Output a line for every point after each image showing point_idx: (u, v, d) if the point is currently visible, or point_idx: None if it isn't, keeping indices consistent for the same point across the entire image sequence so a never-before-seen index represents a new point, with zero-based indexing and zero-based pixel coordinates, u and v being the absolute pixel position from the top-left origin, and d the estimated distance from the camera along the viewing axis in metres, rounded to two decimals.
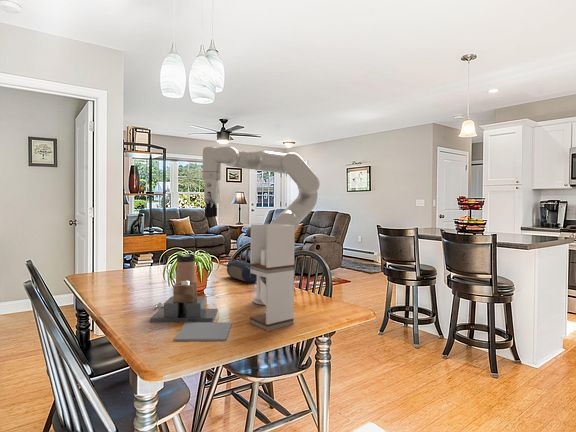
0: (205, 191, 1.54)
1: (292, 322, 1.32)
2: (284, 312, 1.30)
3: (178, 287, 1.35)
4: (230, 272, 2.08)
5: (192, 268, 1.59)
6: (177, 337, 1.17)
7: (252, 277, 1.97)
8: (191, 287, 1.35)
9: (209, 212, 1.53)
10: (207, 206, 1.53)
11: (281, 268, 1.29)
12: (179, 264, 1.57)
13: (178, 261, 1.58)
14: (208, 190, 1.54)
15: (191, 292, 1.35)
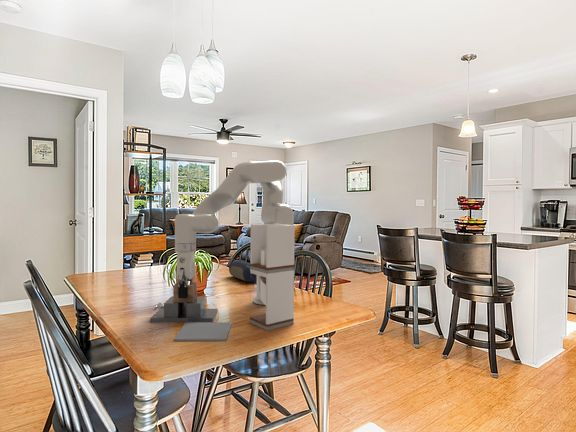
0: (178, 267, 1.34)
1: (292, 322, 1.32)
2: (284, 312, 1.30)
3: None
4: (232, 272, 2.09)
5: None
6: (177, 337, 1.17)
7: (253, 277, 1.97)
8: (191, 287, 1.35)
9: (183, 293, 1.34)
10: (181, 286, 1.33)
11: (281, 268, 1.29)
12: None
13: None
14: (181, 266, 1.34)
15: (191, 292, 1.35)
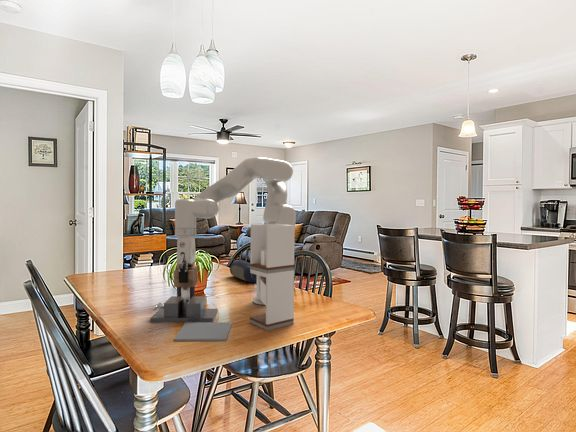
0: (178, 251, 1.34)
1: (292, 322, 1.32)
2: (284, 312, 1.30)
3: (178, 272, 1.35)
4: (233, 272, 2.09)
5: None
6: (177, 337, 1.17)
7: (254, 277, 1.97)
8: (191, 272, 1.35)
9: (183, 277, 1.34)
10: (181, 271, 1.33)
11: (281, 268, 1.29)
12: None
13: None
14: (181, 250, 1.33)
15: (191, 277, 1.35)
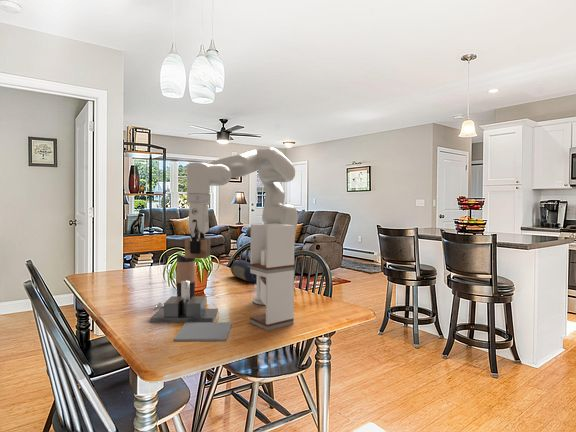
0: (190, 219, 1.22)
1: (292, 322, 1.32)
2: (284, 312, 1.30)
3: None
4: (234, 272, 2.10)
5: (192, 268, 1.59)
6: (177, 337, 1.17)
7: (254, 277, 1.97)
8: (204, 242, 1.24)
9: (195, 247, 1.23)
10: (193, 240, 1.22)
11: (281, 268, 1.29)
12: (179, 264, 1.57)
13: (178, 261, 1.58)
14: (193, 217, 1.22)
15: (204, 247, 1.24)
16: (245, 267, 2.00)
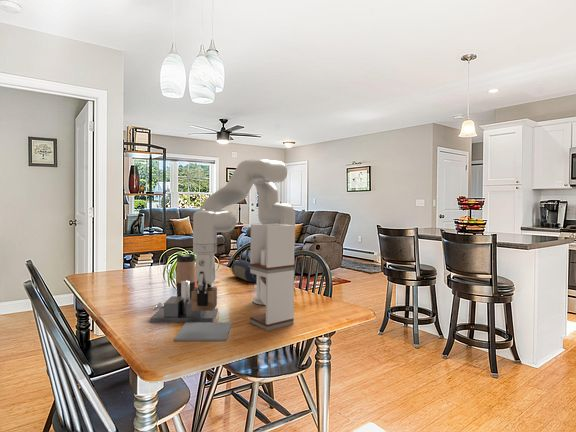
0: (197, 271, 1.18)
1: (292, 322, 1.32)
2: (284, 312, 1.30)
3: None
4: (235, 272, 2.10)
5: (192, 268, 1.59)
6: (177, 337, 1.17)
7: (255, 277, 1.97)
8: (211, 293, 1.20)
9: (203, 300, 1.18)
10: (200, 292, 1.18)
11: (281, 268, 1.29)
12: (179, 264, 1.57)
13: (178, 261, 1.58)
14: (201, 269, 1.18)
15: (211, 299, 1.20)
16: (246, 267, 2.00)
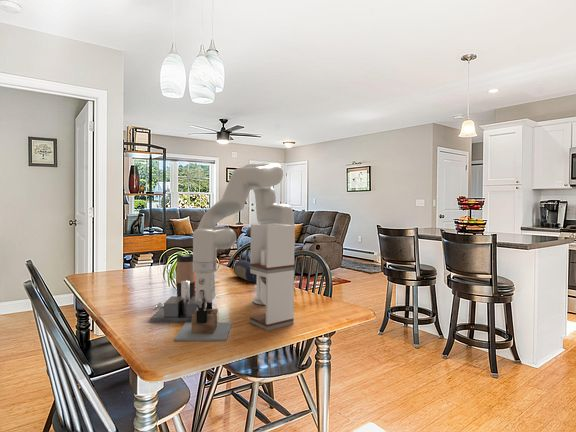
0: (197, 289, 1.18)
1: (292, 322, 1.32)
2: (284, 312, 1.30)
3: None
4: (236, 271, 2.10)
5: (192, 268, 1.59)
6: (177, 337, 1.17)
7: (255, 277, 1.97)
8: (211, 317, 1.20)
9: (202, 317, 1.18)
10: (199, 310, 1.17)
11: (281, 268, 1.29)
12: (179, 264, 1.57)
13: (178, 261, 1.58)
14: (201, 288, 1.18)
15: (211, 322, 1.20)
16: (246, 267, 2.00)
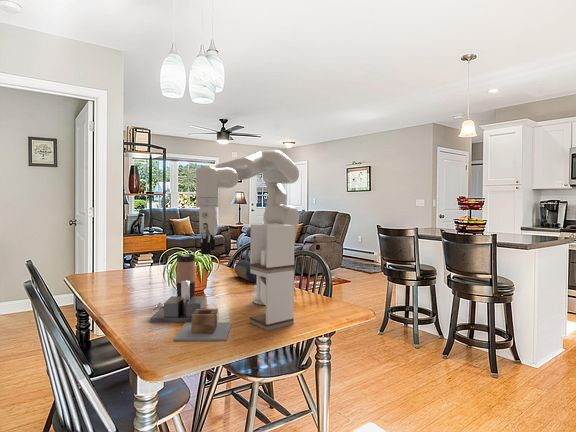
0: (200, 222, 1.25)
1: (292, 322, 1.32)
2: (284, 312, 1.30)
3: (197, 317, 1.20)
4: (237, 271, 2.11)
5: (192, 268, 1.59)
6: (177, 337, 1.17)
7: (256, 277, 1.97)
8: (211, 317, 1.20)
9: (206, 248, 1.25)
10: (204, 241, 1.24)
11: (281, 268, 1.29)
12: (179, 264, 1.57)
13: (178, 261, 1.58)
14: (204, 221, 1.25)
15: (211, 322, 1.20)
16: (247, 267, 2.01)
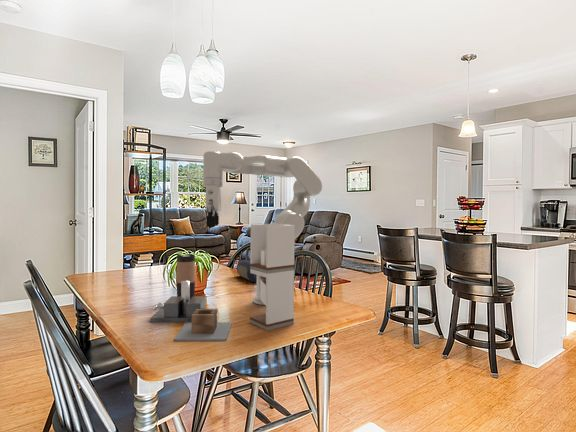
0: (206, 199, 1.45)
1: (292, 322, 1.32)
2: (284, 312, 1.30)
3: (197, 317, 1.20)
4: (238, 271, 2.11)
5: (192, 268, 1.59)
6: (177, 337, 1.17)
7: None
8: (211, 317, 1.20)
9: (211, 221, 1.44)
10: (209, 215, 1.44)
11: (281, 268, 1.29)
12: (179, 264, 1.57)
13: (178, 261, 1.58)
14: (210, 198, 1.45)
15: (211, 322, 1.20)
16: (248, 267, 2.01)
